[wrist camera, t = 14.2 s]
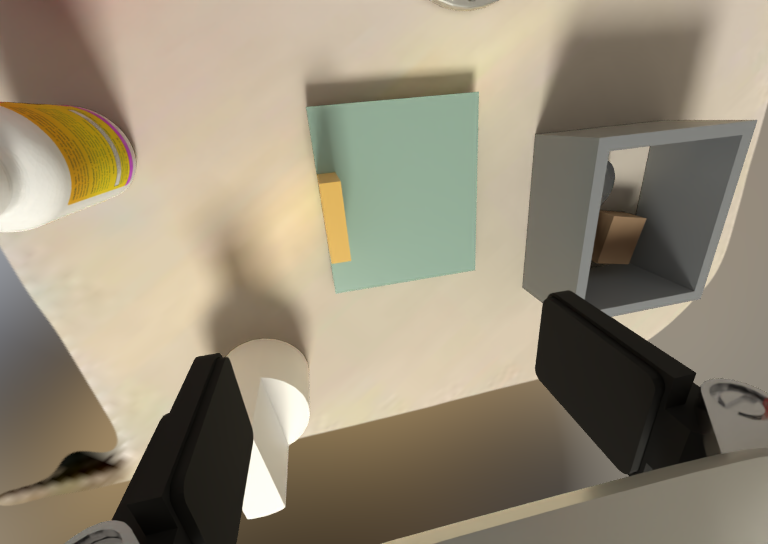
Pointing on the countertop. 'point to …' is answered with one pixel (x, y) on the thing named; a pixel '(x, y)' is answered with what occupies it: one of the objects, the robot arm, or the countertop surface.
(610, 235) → the walnut block
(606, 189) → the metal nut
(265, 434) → the cylinder with rectangular tab
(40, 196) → the supplement bottle
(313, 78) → the countertop surface
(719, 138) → the tub
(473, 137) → the door
